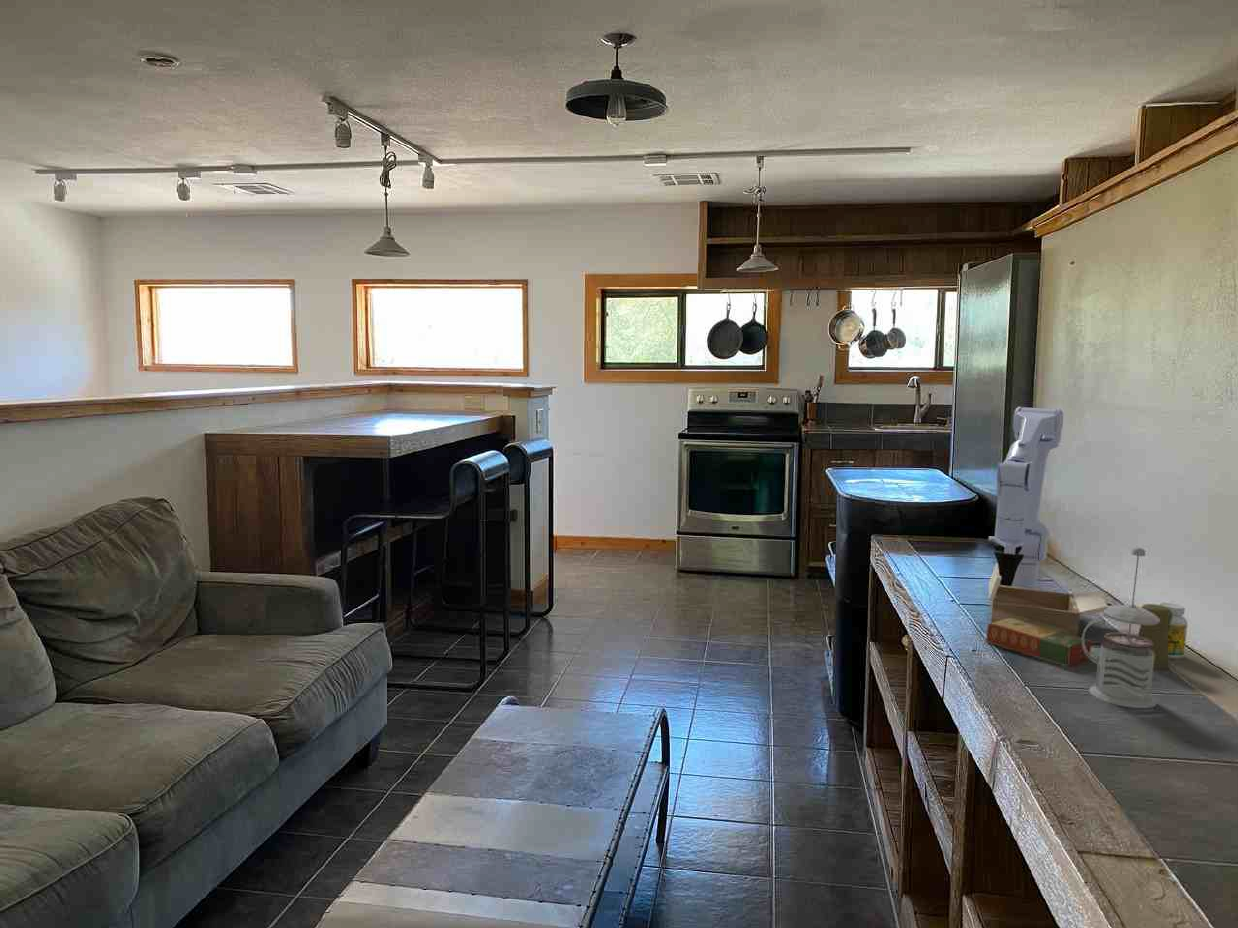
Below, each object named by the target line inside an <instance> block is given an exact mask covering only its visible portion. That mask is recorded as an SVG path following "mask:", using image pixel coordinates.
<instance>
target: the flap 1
mask: <svg viewBox="0 0 1238 928" xmlns="http://www.w3.org/2000/svg"><path fill="white" fill-rule="evenodd" d="M1000 581H1001V576H1000V575H999V567H998V562H996V563H995V566H994V568H993V572H992V574H991V576H990V579H989V582H988V600H989V601H991V600H992V601H993V600H994V597H995V595H996V592H997V589H998V587H999V585H1001V584H1000Z"/></svg>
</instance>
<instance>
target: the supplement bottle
mask: <svg viewBox="0 0 1238 928" xmlns="http://www.w3.org/2000/svg"><path fill="white" fill-rule="evenodd" d="M1159 605H1161V606H1164V607H1167V608H1168V609H1170V610H1171V612H1172V620H1171V623H1170V624H1169V625H1168V652H1169V659H1178V660H1179V659H1182V658H1183V657H1184V656H1185V648H1186V647H1185V646H1186V641H1187V640H1186V638H1187V632H1188V631H1187V629H1188V620H1187V619H1186V617H1184V615H1185V609H1186V608H1185V606H1184V605H1181V604H1177V603H1172V602H1161V603H1160V604H1159Z"/></svg>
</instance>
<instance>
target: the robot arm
mask: <svg viewBox="0 0 1238 928" xmlns="http://www.w3.org/2000/svg"><path fill="white" fill-rule="evenodd" d="M1063 425H1064V412H1063V411H1062V408H1057V409H1055V408H1053V409H1052V408H1041V407H1040V408H1038V407H1022V406H1018V407H1017V408H1015V410H1014V413H1013V422H1012V429H1013V434H1014V439H1015V441H1014V442H1012V444H1011V445H1010V446H1009V450H1008V452H1007V455H1006V457H1005V460H1003V462H999V463H998V467H997V471H996V496H998V497H997V507H996V519H995V529H994V536H993V535H992V536H991V535H990V536H988V541H989V542H995V543H993V544H992V545H993V548H994V551H993V553H994V556H995V559H996V561H997V562H996V563H998V567H999V575H1000V576H1001V581H1000V584H999V585H1000V586H1008V587H1017V588H1025V589H1033V590H1037V585H1038V575H1039V566H1040V563H1041V562H1044V561H1046V559H1047V555H1048V551H1049V534H1050V532H1049V529H1048V527H1047V526H1046V525H1045V524H1043V523H1042V522H1041V521H1040V520H1039V511H1040V504H1041V499H1042V498H1041V497H1042V493H1043V492H1042V491H1043V484H1044V480H1045V479H1044V478H1045V472H1046V471H1045V470H1046V464H1047V459H1048V456H1049V454H1050V451H1051V450H1052V449H1055V448H1059V446H1060V445H1059V444H1060V443H1061V438H1062V431H1063V427H1064V426H1063Z"/></svg>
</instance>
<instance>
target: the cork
mask: <svg viewBox="0 0 1238 928" xmlns="http://www.w3.org/2000/svg"><path fill="white" fill-rule="evenodd" d="M1140 607H1141V608H1143V609H1145V610H1147V611H1149V612H1151V613H1153V614H1155V615H1156V616H1157V617H1158V618H1159V619H1160V622H1159V623H1158V624H1156V625H1150V626H1149V625H1139V626H1140V627H1139V631H1138V634H1137V636H1139V637H1140V636H1141V637H1143V638H1147V639H1148V640H1150V641H1152V642H1153V643H1154V645H1153V646H1152V647H1151V648H1149V649H1151V650H1153V651H1154V653H1155V657H1154V666H1153V670H1156V671H1158V670H1159V671H1164V670H1165V671H1166V670H1168V669H1169V668H1170V658H1169V652H1168V625H1169V624H1170V623H1171V620H1172V612H1171V610H1170V609H1168V608H1167V607H1164V606H1161V605H1160V604H1155V603H1154V604H1153V603H1147V604H1143V605H1142V606H1140ZM1132 656H1137V655H1136V654H1134V653H1133V652H1132Z"/></svg>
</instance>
